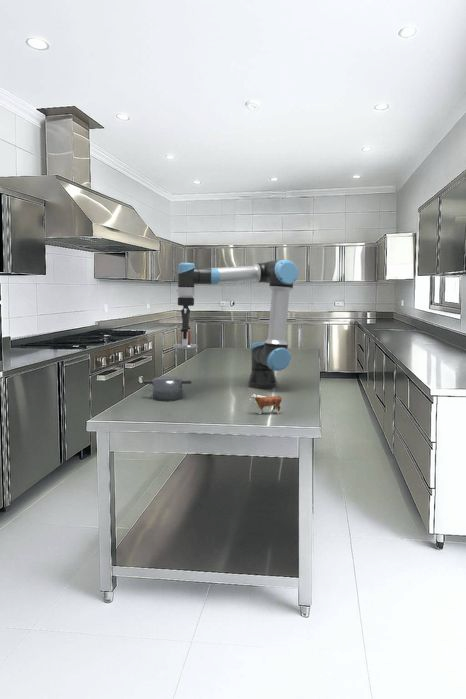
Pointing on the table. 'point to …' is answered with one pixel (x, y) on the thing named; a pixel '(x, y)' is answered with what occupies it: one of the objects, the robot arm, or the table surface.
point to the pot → (167, 388)
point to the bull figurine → (266, 402)
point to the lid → (190, 346)
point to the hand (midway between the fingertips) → (185, 344)
